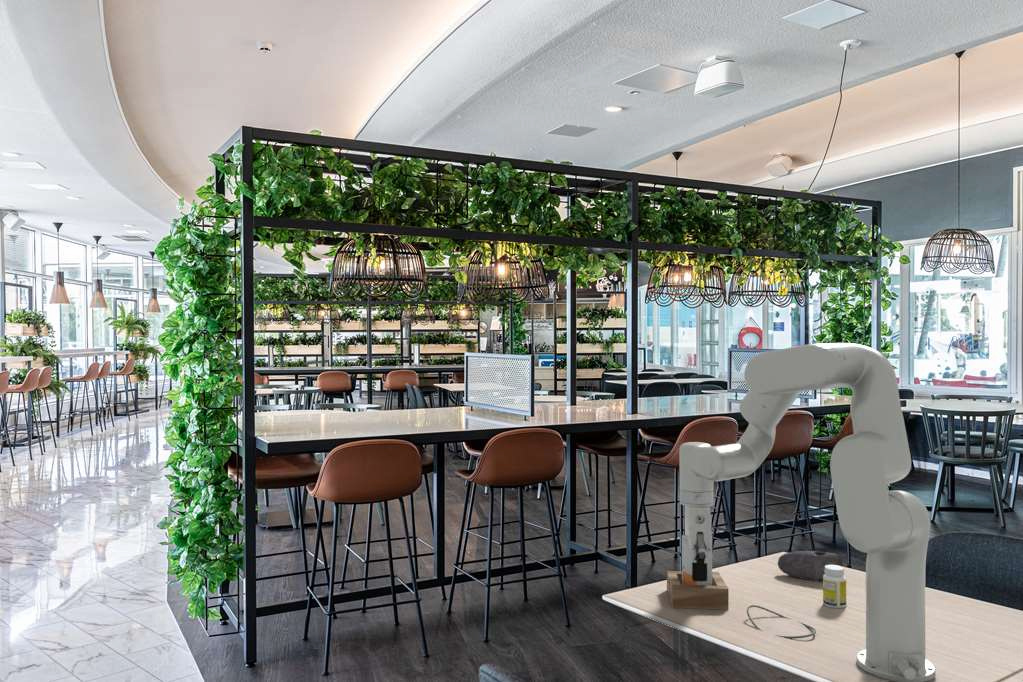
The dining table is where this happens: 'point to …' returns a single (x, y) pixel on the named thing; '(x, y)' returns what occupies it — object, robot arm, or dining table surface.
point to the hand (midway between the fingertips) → (697, 574)
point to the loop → (780, 616)
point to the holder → (697, 593)
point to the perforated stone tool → (808, 563)
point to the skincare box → (687, 564)
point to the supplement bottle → (834, 587)
